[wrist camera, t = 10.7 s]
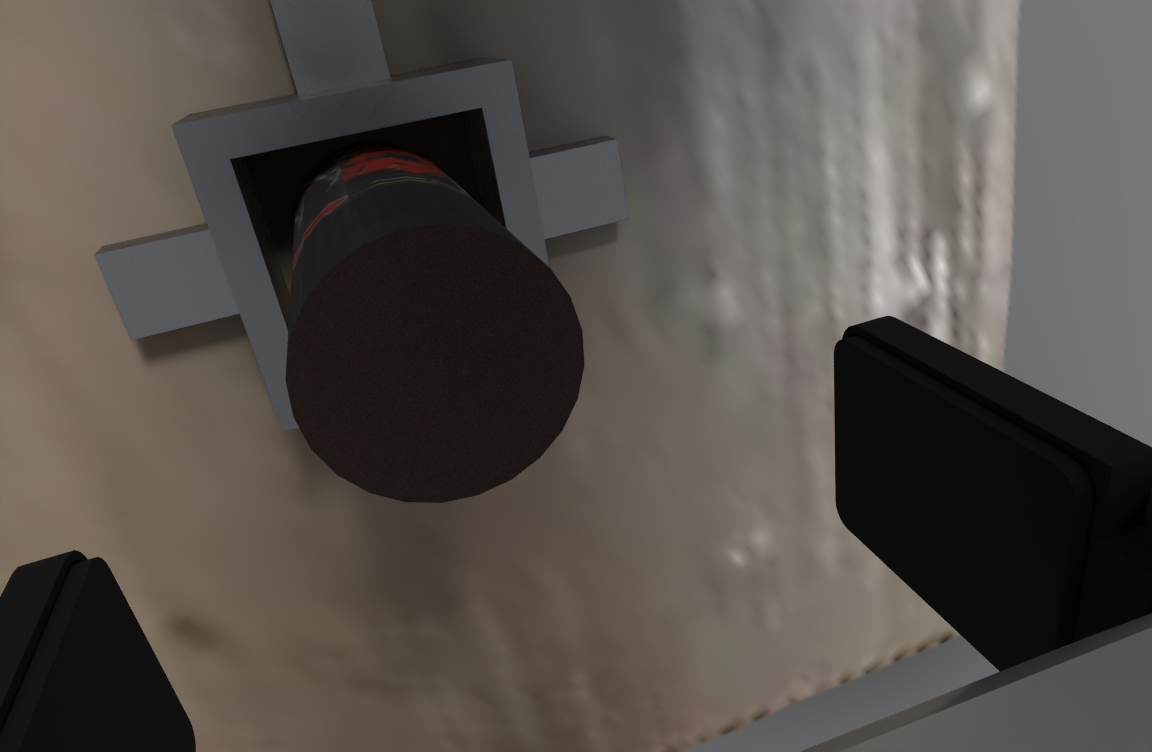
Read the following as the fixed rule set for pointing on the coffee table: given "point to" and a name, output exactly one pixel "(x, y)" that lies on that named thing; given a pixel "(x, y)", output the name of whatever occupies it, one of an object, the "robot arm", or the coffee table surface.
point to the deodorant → (421, 331)
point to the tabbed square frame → (323, 111)
